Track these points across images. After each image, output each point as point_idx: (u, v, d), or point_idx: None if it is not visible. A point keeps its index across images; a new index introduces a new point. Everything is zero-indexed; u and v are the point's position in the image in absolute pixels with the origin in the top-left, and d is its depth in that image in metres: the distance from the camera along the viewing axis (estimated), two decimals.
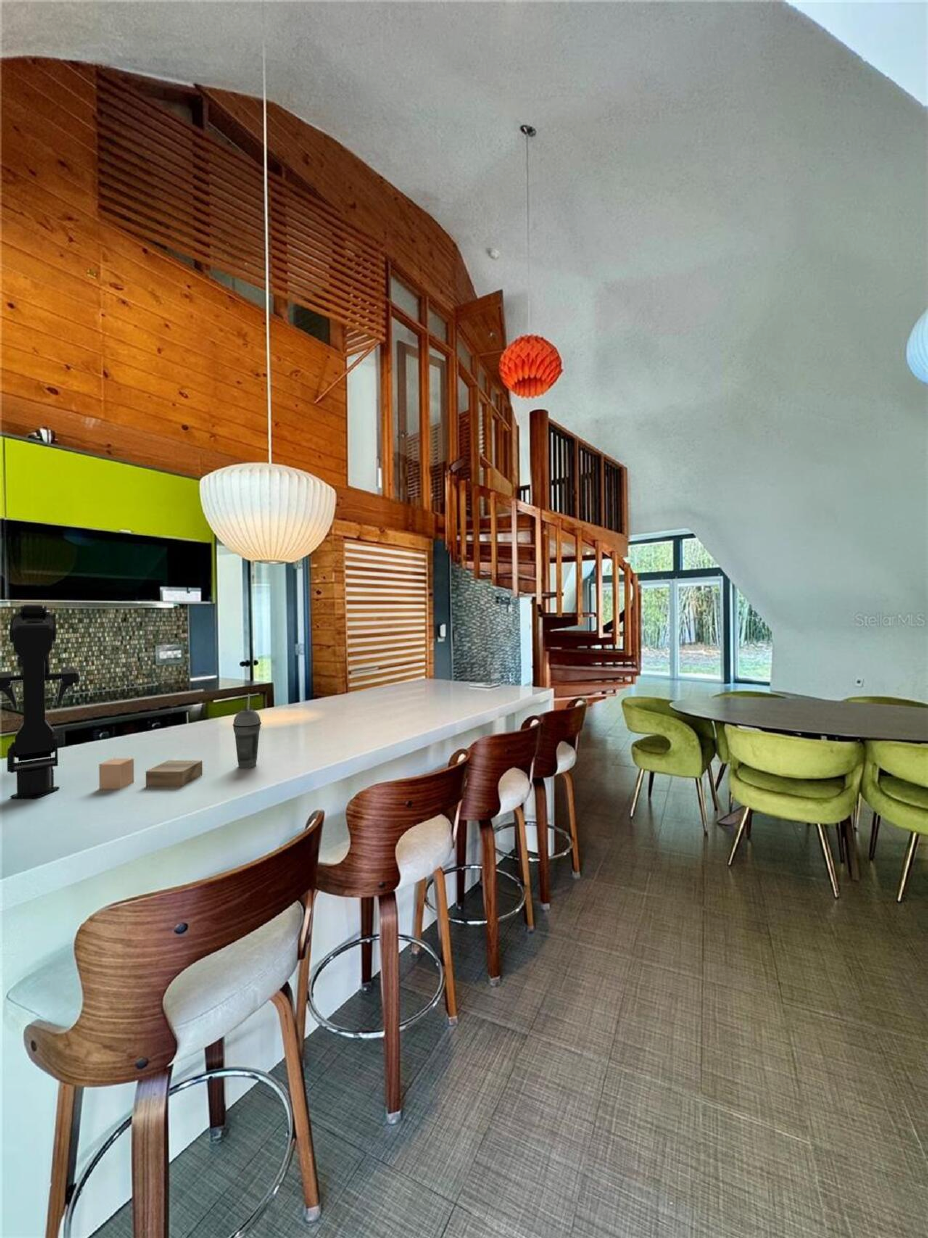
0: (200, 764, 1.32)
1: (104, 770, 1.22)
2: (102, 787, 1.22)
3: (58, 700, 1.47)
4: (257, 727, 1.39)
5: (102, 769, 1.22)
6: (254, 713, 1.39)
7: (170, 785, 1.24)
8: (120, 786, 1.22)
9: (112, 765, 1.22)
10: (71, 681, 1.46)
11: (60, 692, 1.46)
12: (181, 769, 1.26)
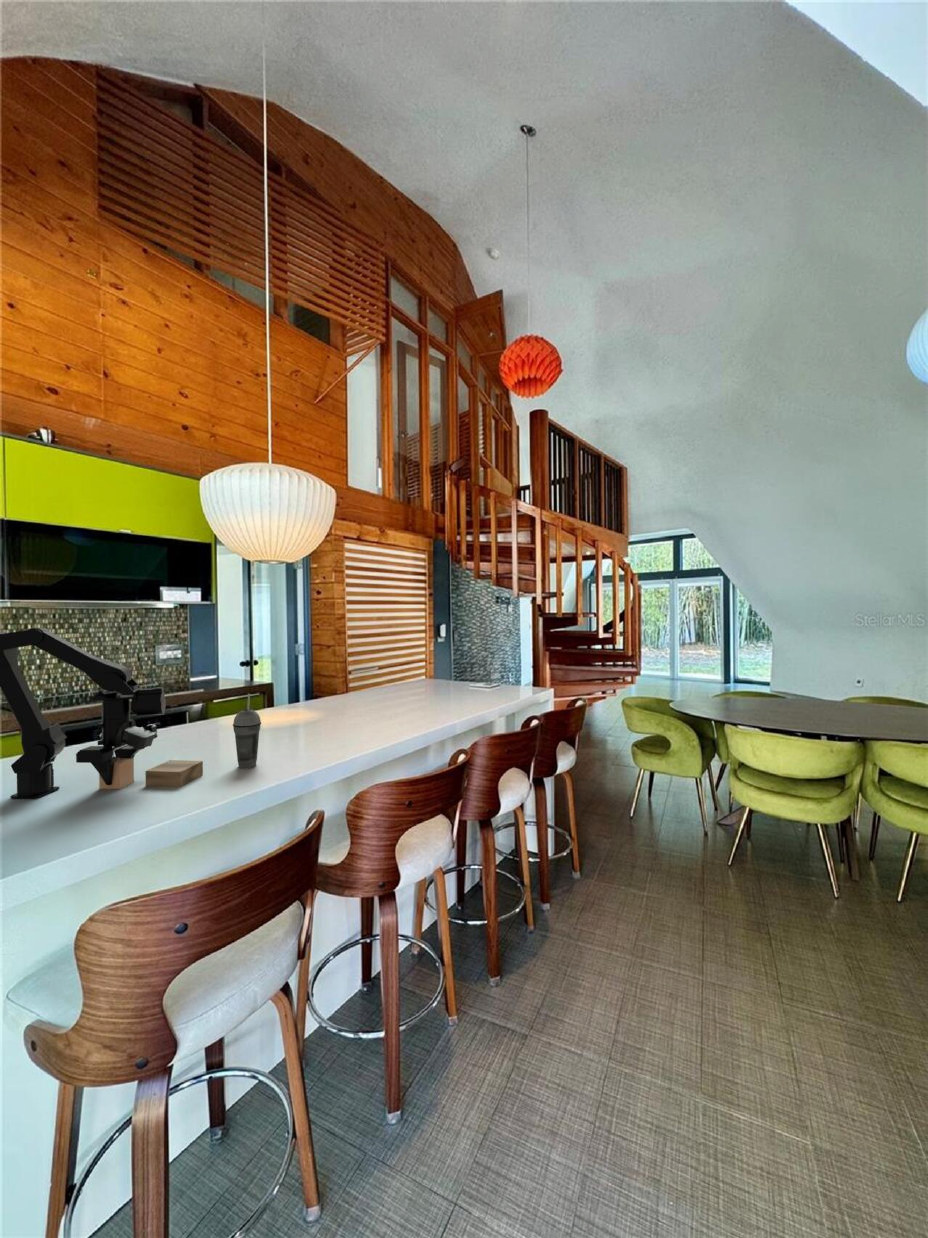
0: (200, 764, 1.32)
1: None
2: (102, 787, 1.22)
3: None
4: (257, 727, 1.39)
5: None
6: (254, 713, 1.39)
7: (169, 785, 1.24)
8: (120, 786, 1.22)
9: None
10: None
11: None
12: (180, 769, 1.25)
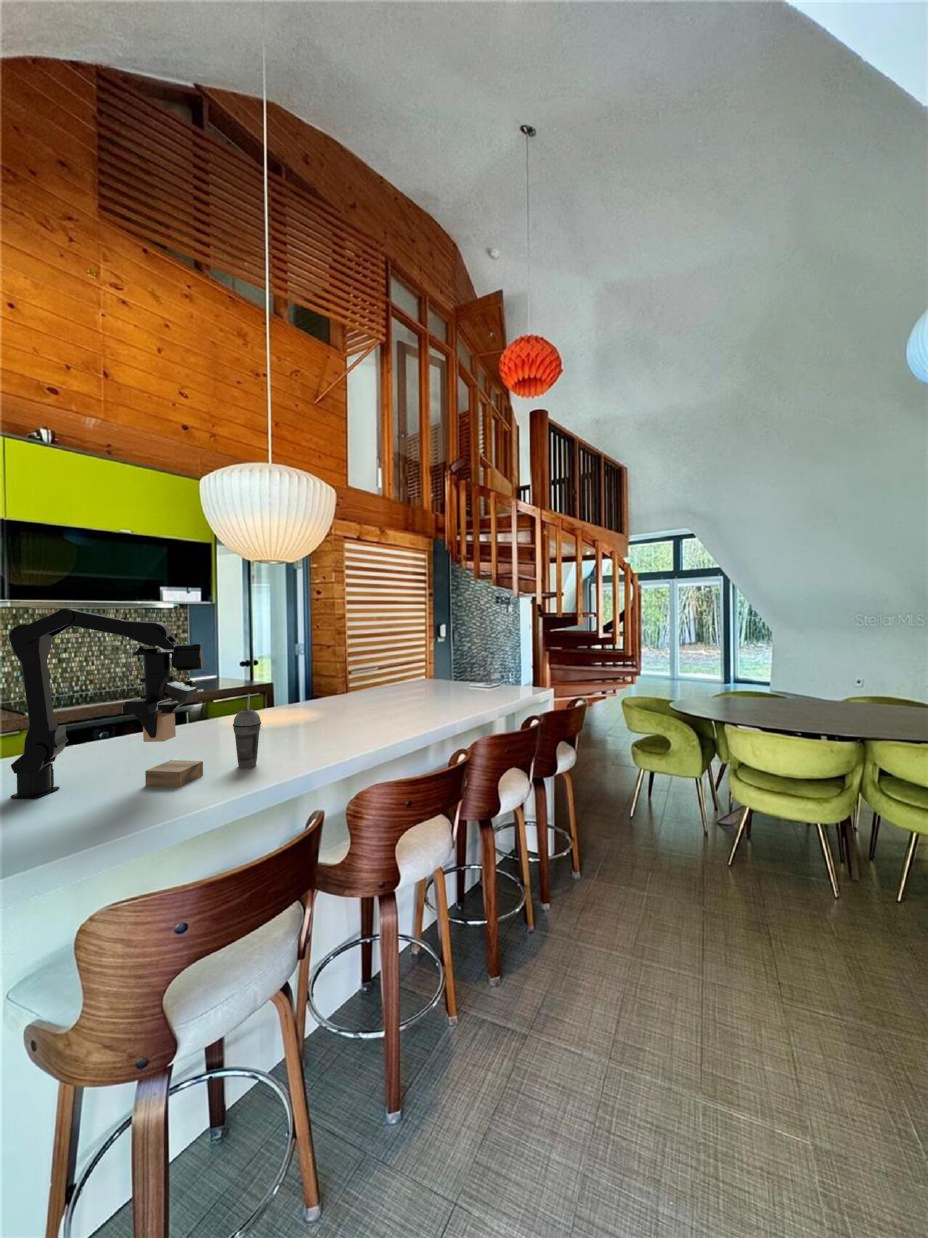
0: (200, 765, 1.31)
1: None
2: (146, 740, 1.25)
3: None
4: (257, 727, 1.39)
5: None
6: (254, 713, 1.39)
7: (168, 785, 1.24)
8: (164, 738, 1.25)
9: None
10: None
11: None
12: (180, 769, 1.25)
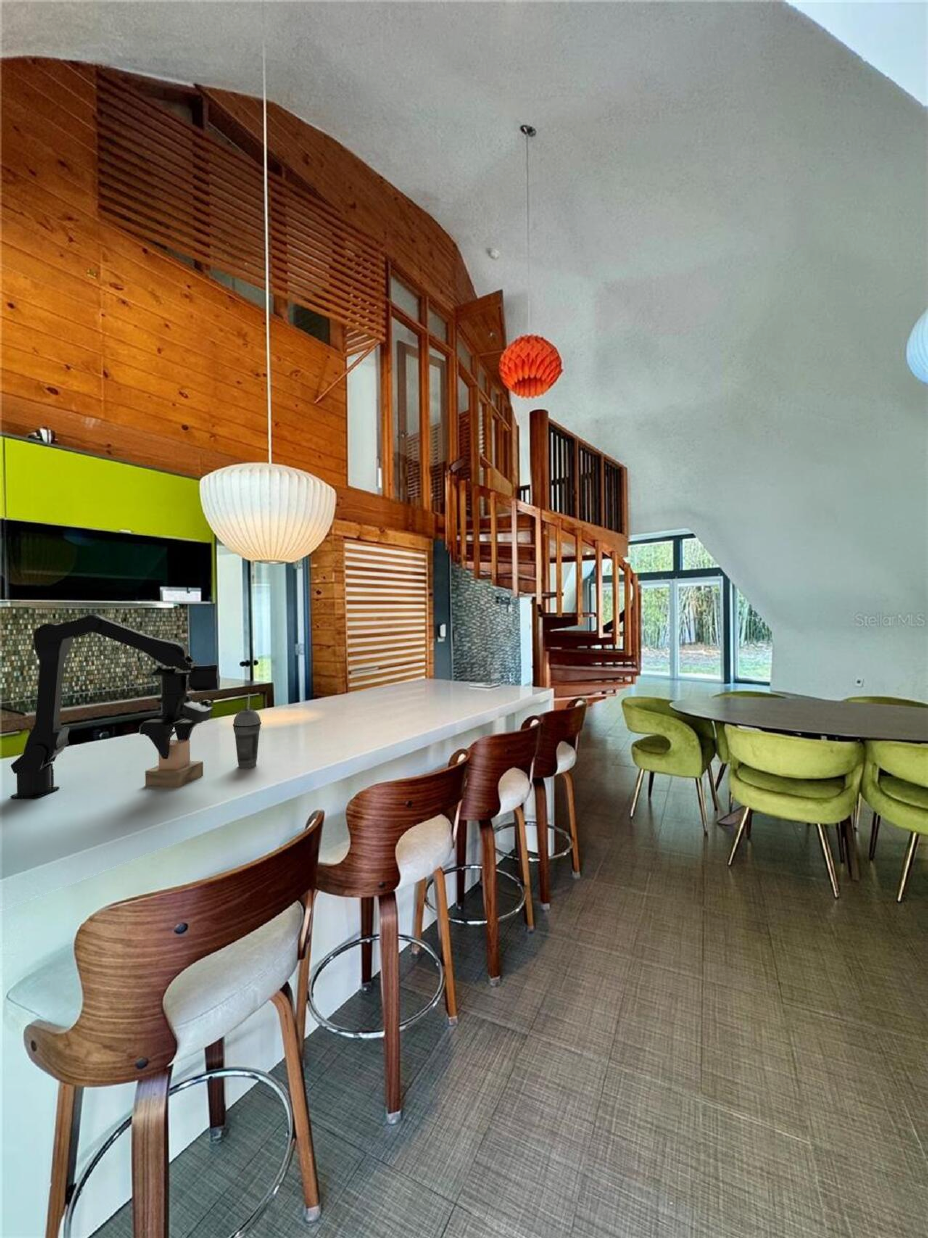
0: (200, 765, 1.31)
1: None
2: (161, 767, 1.26)
3: None
4: (257, 727, 1.39)
5: None
6: (254, 713, 1.39)
7: (167, 785, 1.24)
8: (179, 766, 1.26)
9: (171, 746, 1.26)
10: None
11: None
12: (179, 769, 1.25)
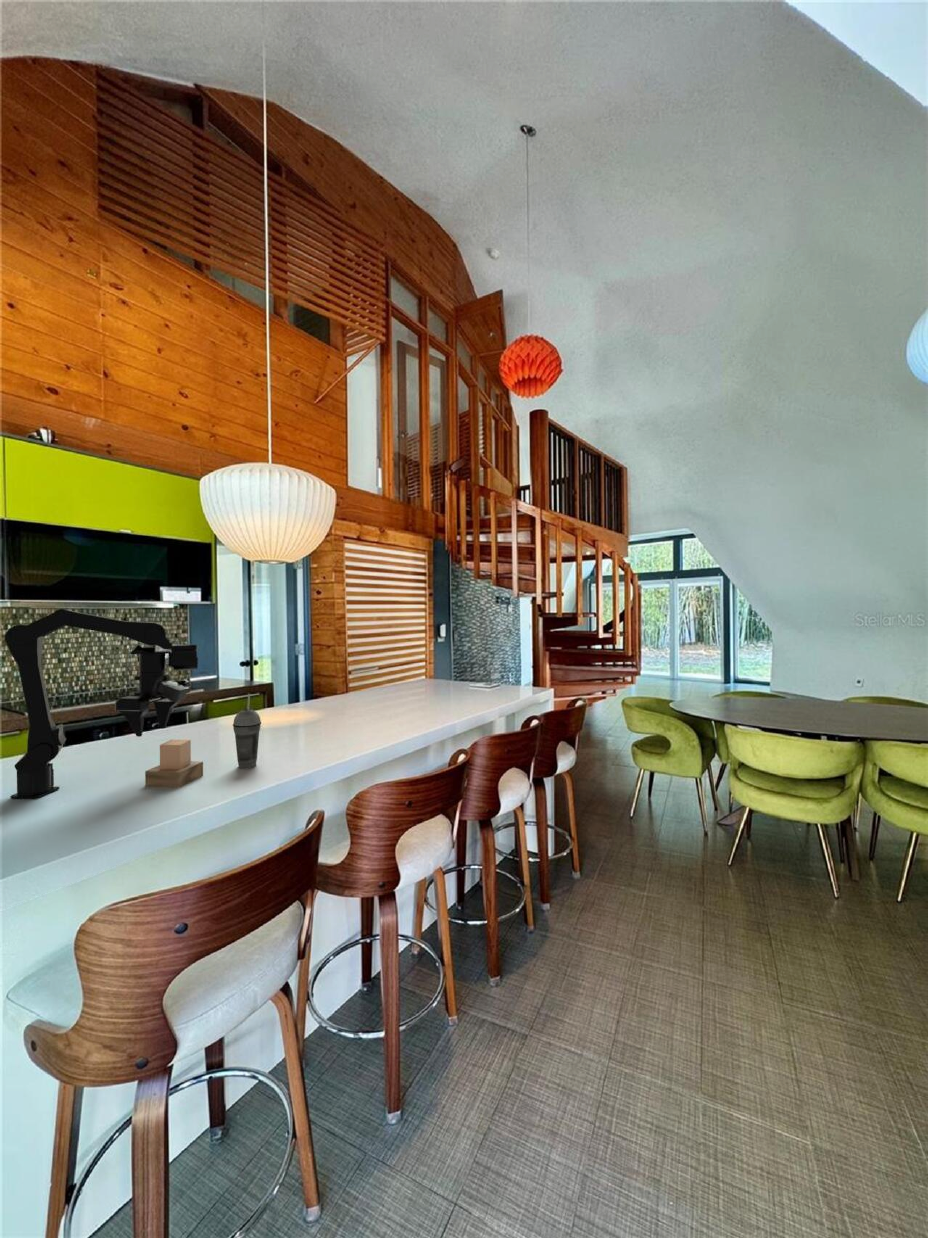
0: (200, 765, 1.31)
1: (165, 750, 1.26)
2: (163, 767, 1.26)
3: None
4: (257, 727, 1.39)
5: (163, 749, 1.26)
6: (254, 713, 1.39)
7: (167, 786, 1.24)
8: (180, 766, 1.26)
9: (173, 745, 1.26)
10: None
11: None
12: (179, 770, 1.25)
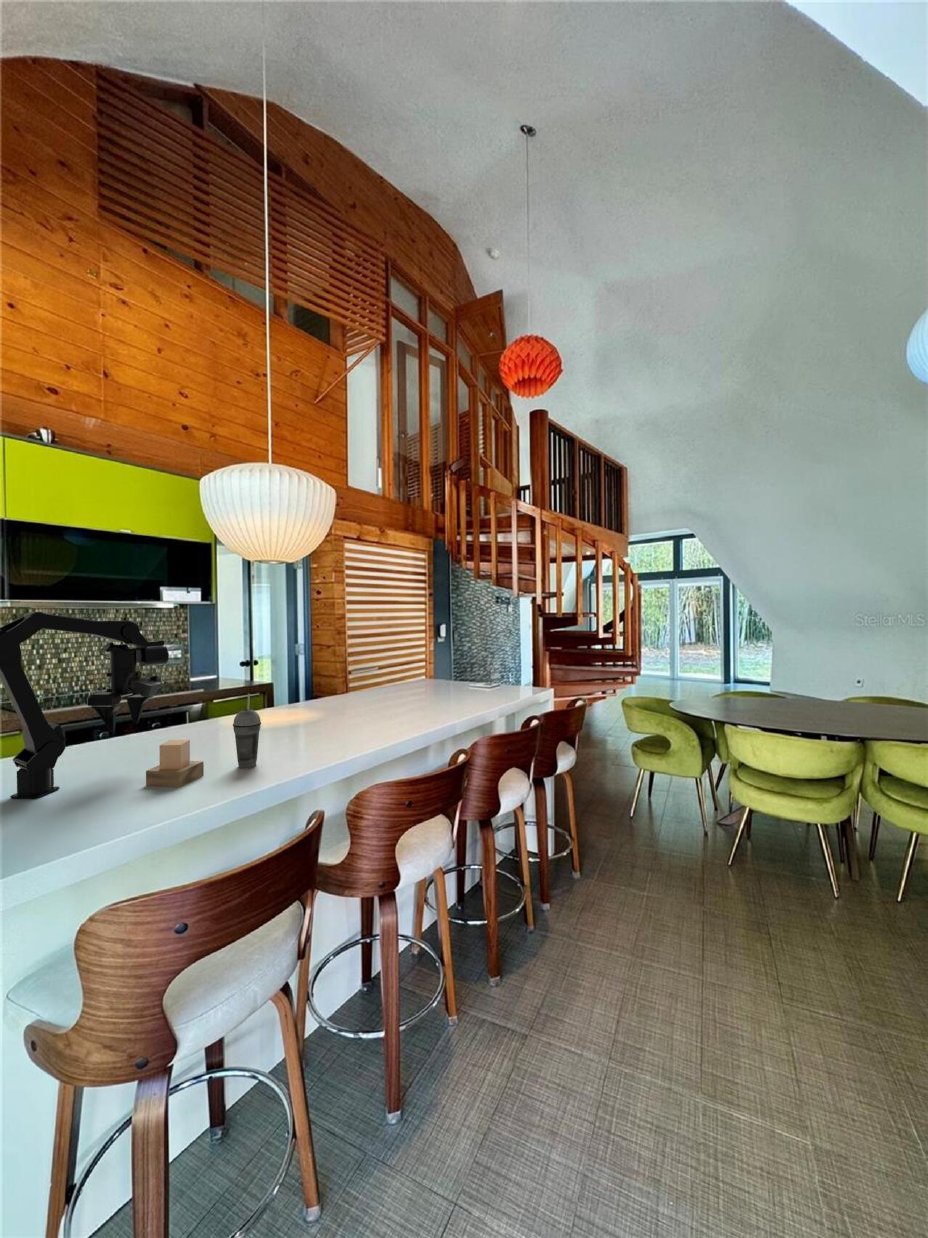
0: (201, 765, 1.31)
1: (165, 751, 1.25)
2: (162, 767, 1.25)
3: None
4: (257, 727, 1.39)
5: (163, 750, 1.25)
6: (254, 713, 1.39)
7: (168, 785, 1.24)
8: (181, 766, 1.26)
9: (173, 746, 1.26)
10: None
11: None
12: (180, 769, 1.25)
